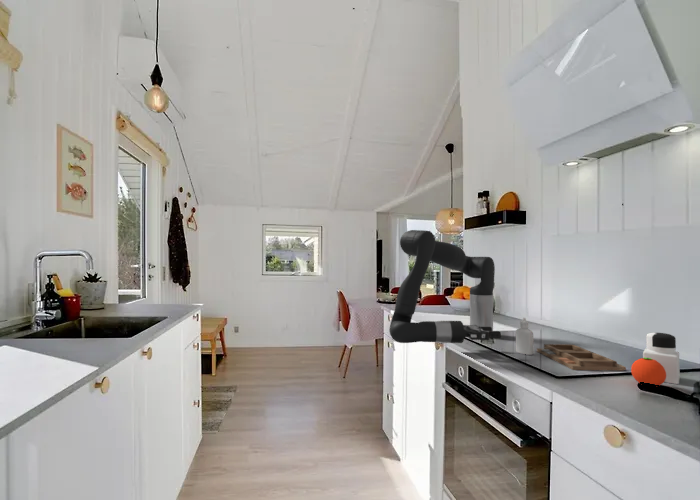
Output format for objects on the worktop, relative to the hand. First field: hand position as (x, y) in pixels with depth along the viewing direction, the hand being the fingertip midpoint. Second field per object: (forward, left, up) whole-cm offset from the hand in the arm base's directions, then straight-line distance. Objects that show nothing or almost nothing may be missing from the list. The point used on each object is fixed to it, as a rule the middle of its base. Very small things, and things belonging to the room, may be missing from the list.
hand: (495, 332), depth 127 cm
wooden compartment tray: (+8, +23, -7) cm, 25 cm away
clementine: (+32, +27, -7) cm, 42 cm away
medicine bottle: (+26, +35, -7) cm, 44 cm away
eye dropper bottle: (0, +10, -7) cm, 12 cm away
